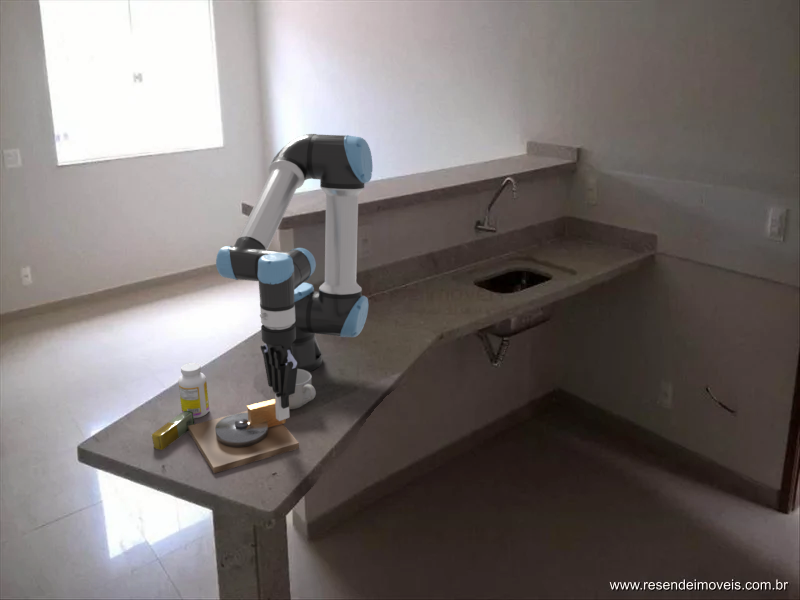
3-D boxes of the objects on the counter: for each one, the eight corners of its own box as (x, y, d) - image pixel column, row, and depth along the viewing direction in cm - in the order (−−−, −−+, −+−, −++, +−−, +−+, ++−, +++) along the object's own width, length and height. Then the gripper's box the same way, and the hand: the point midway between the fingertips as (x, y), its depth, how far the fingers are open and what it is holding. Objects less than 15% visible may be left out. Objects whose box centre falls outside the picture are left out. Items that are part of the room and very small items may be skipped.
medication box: (186, 424, 179) (184, 409, 178) (195, 426, 178) (193, 411, 177) (153, 448, 169) (150, 433, 168) (162, 451, 168) (160, 436, 167)
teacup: (262, 401, 189) (260, 374, 187) (298, 389, 196) (296, 362, 193) (291, 423, 180) (289, 394, 177) (327, 409, 186) (327, 381, 183)
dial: (274, 410, 182) (273, 388, 179) (293, 433, 172) (292, 409, 170) (209, 428, 174) (207, 405, 171) (225, 452, 164) (223, 428, 162)
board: (267, 410, 185) (267, 405, 185) (299, 448, 169) (298, 442, 169) (188, 431, 176) (187, 425, 175) (214, 473, 160) (213, 467, 159)
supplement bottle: (198, 403, 188) (194, 358, 184) (214, 411, 184) (210, 365, 180) (176, 413, 183) (171, 367, 179) (192, 422, 180) (187, 375, 175)
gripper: (248, 319, 164) (254, 412, 172) (279, 336, 155) (284, 434, 163) (277, 311, 169) (281, 402, 177) (309, 328, 159) (312, 423, 168)
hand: (282, 417), depth 170 cm, fingers closed
